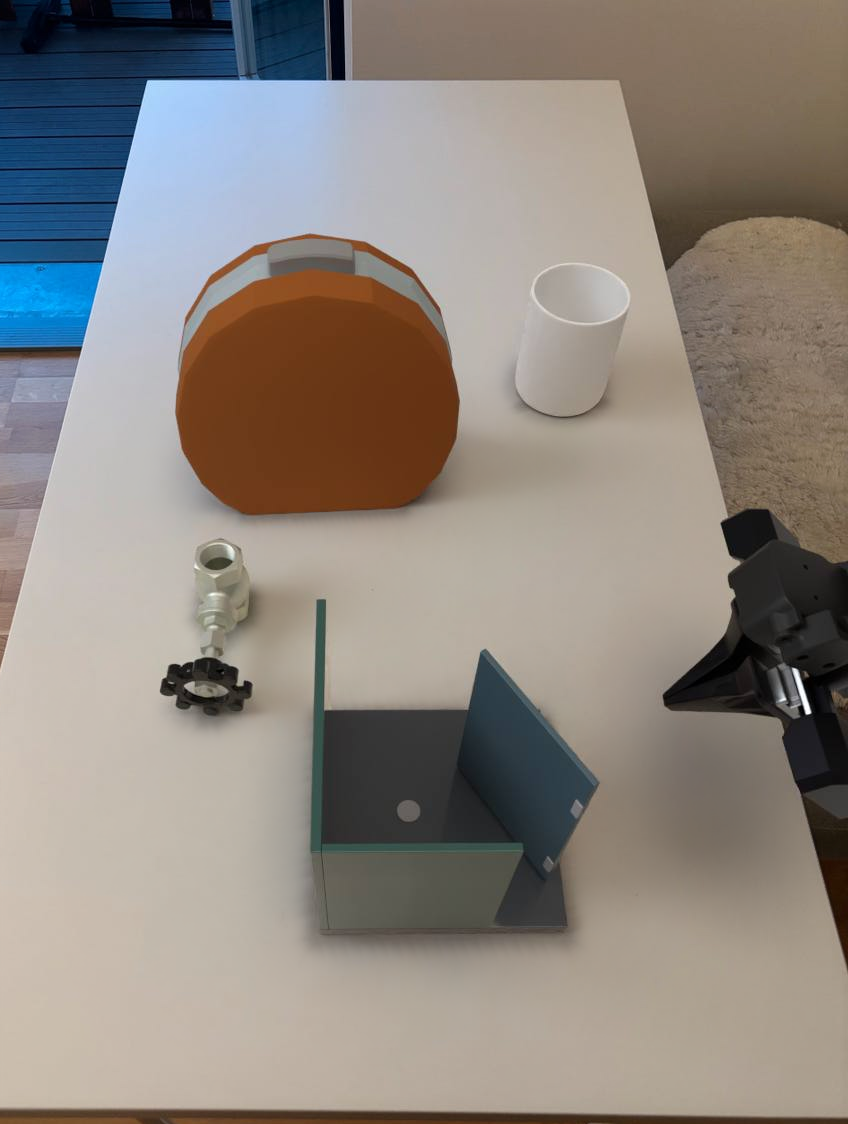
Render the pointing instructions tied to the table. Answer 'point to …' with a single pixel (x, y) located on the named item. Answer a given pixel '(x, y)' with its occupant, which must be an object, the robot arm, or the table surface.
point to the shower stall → (411, 828)
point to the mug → (570, 337)
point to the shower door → (522, 767)
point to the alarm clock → (315, 380)
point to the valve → (214, 631)
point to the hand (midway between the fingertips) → (666, 703)
